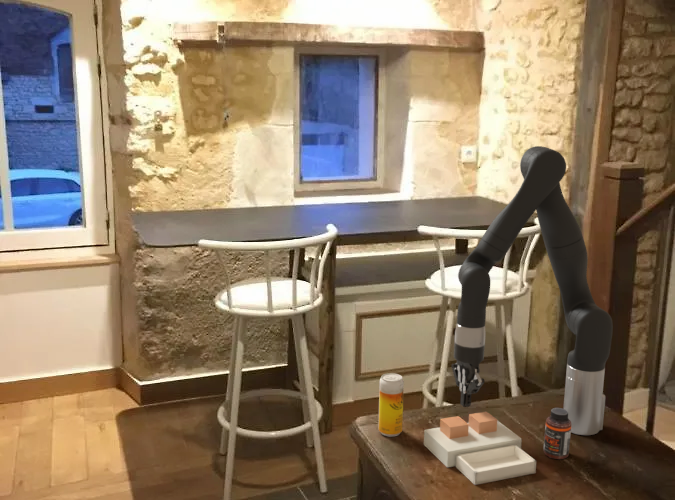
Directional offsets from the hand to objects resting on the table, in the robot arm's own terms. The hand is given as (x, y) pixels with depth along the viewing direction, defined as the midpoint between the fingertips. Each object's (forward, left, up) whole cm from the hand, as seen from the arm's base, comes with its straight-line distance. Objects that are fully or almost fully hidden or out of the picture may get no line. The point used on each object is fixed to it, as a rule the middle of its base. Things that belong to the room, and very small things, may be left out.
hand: (465, 405), depth 192 cm
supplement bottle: (-14, +19, -7) cm, 25 cm away
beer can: (+19, -5, -7) cm, 20 cm away
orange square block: (+8, +8, -3) cm, 11 cm away
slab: (+4, +10, -7) cm, 13 cm away
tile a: (0, +8, -3) cm, 8 cm away
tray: (+4, +21, -7) cm, 22 cm away
